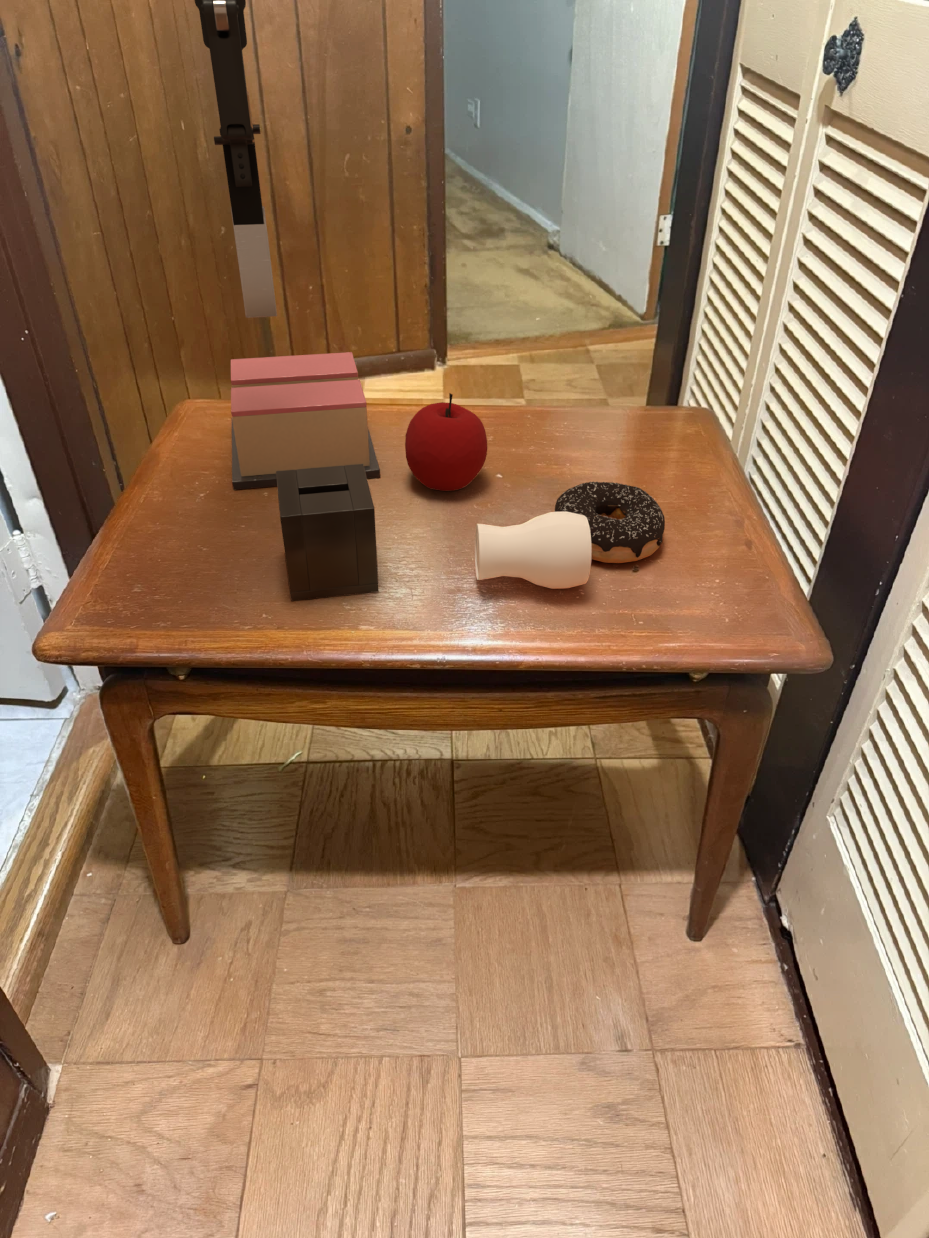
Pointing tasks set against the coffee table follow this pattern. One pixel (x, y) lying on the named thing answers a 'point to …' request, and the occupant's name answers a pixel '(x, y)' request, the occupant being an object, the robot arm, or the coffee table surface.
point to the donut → (616, 519)
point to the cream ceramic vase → (537, 550)
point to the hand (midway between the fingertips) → (248, 219)
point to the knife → (255, 265)
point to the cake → (297, 417)
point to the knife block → (328, 531)
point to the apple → (445, 446)
